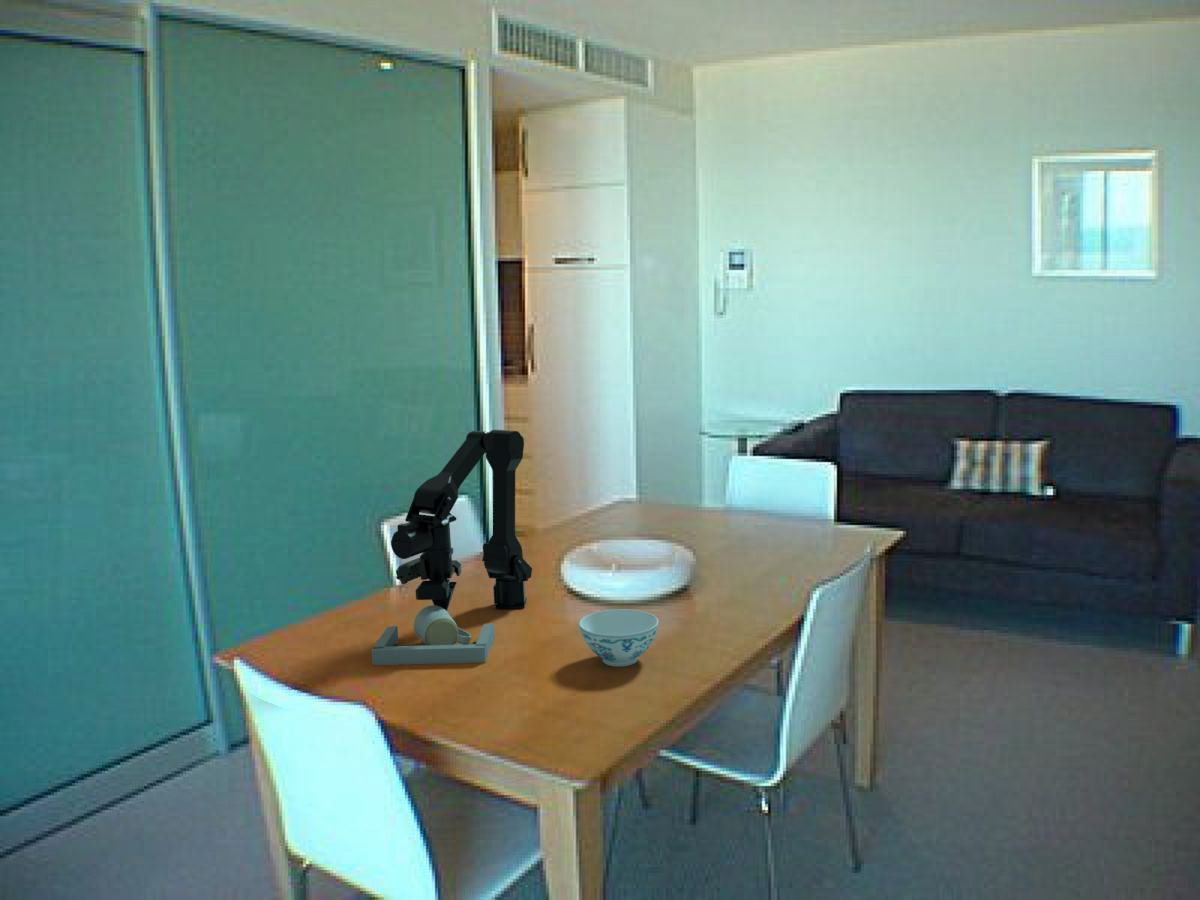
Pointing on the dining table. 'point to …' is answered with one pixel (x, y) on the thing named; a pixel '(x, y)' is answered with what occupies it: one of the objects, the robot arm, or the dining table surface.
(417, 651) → the mug dock
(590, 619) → the chinaware
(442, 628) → the ceramic mug
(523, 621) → the dining table surface
